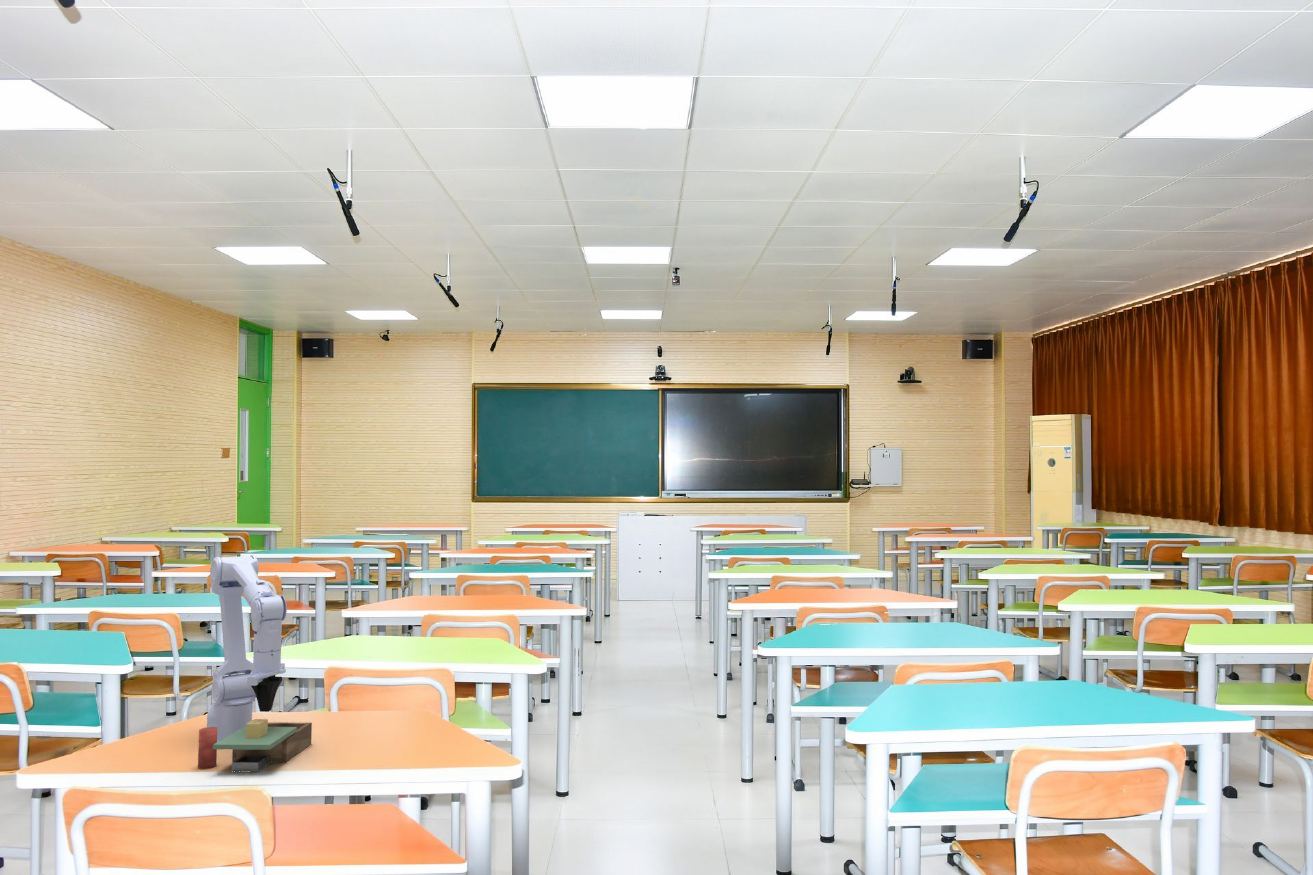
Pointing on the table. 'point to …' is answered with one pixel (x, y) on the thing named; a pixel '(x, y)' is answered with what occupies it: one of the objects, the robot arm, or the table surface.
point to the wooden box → (283, 743)
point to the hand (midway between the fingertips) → (265, 710)
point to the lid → (255, 736)
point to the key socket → (251, 763)
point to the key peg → (207, 748)
